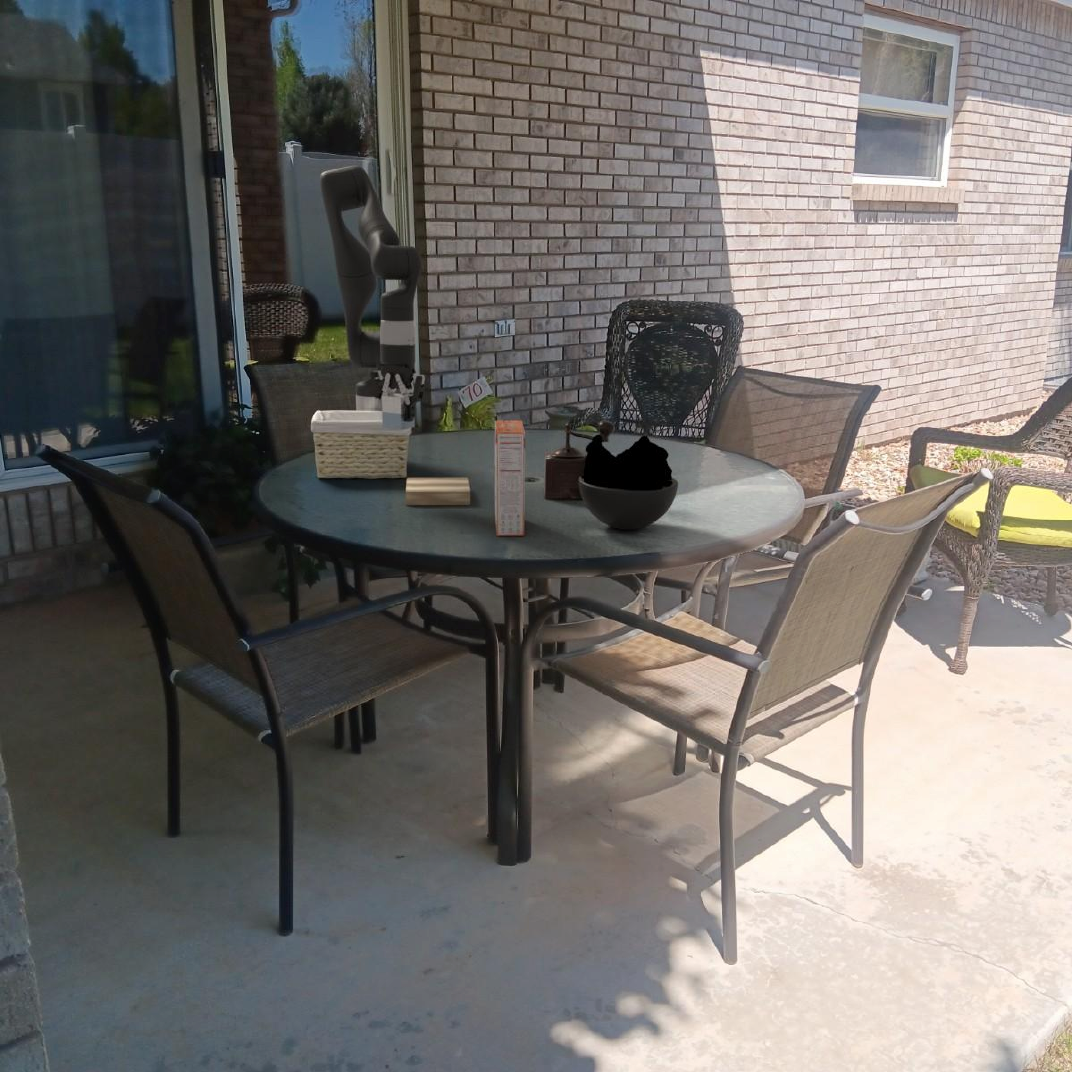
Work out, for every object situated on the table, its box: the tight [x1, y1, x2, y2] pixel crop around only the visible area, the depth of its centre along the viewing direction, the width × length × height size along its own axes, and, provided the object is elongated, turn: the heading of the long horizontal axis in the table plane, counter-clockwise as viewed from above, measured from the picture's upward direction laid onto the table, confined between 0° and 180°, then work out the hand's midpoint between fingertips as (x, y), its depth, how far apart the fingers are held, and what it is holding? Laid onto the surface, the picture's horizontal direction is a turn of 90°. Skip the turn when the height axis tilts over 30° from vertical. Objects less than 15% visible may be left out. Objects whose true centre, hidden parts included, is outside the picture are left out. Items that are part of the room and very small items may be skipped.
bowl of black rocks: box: [579, 434, 679, 531], centre depth 206 cm, size 20×20×19 cm
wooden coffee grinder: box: [542, 419, 616, 501], centre depth 233 cm, size 16×11×18 cm
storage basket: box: [310, 409, 412, 480], centre depth 251 cm, size 24×16×15 cm
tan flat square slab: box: [405, 477, 471, 506], centre depth 230 cm, size 14×14×3 cm
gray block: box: [382, 392, 416, 430], centre depth 225 cm, size 5×6×7 cm
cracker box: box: [493, 419, 526, 537], centre depth 204 cm, size 14×6×21 cm, turn 3°
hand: (398, 419), depth 225 cm, fingers closed on gray block, 5 cm apart
